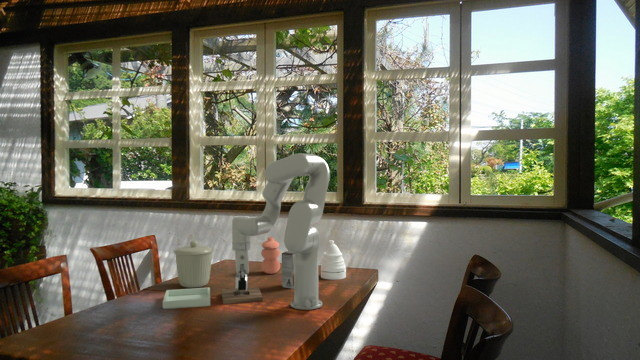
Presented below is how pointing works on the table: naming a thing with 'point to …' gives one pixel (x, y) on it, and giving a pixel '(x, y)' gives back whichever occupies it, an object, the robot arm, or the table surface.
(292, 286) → the coffee box
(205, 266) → the canister
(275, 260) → the ceramic vessels
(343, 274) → the honey pot
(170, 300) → the tray
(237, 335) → the table surface
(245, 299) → the wooden base board
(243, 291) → the lock pin
